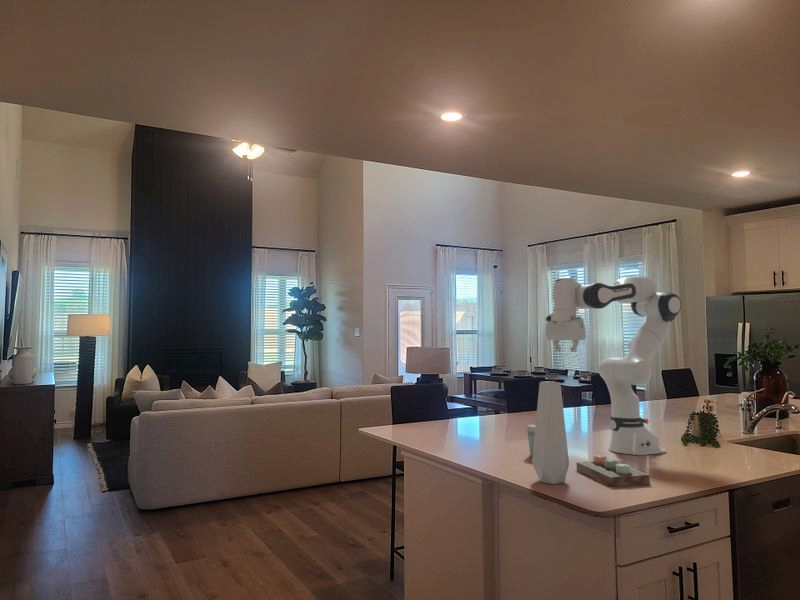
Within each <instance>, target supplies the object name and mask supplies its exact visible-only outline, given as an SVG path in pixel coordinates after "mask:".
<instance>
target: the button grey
mask: <svg viewBox="0 0 800 600" xmlns="http://www.w3.org/2000/svg"><path fill="white" fill-rule="evenodd" d="M618 463H619V461H618V460H616V459H608V458H607V459H606V460H604V468H605V469H607V470H616V464H618Z"/></svg>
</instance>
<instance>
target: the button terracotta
mask: <svg viewBox="0 0 800 600" xmlns="http://www.w3.org/2000/svg"><path fill="white" fill-rule="evenodd" d="M606 459H608V458H607V456H606V455H603V454H595V455H593V461H594V464H595V465H604V460H606Z"/></svg>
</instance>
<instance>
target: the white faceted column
mask: <svg viewBox="0 0 800 600" xmlns="http://www.w3.org/2000/svg"><path fill="white" fill-rule="evenodd" d="M537 396H538V397H537V406H536V407H537V408H536V417H535V424H536V426H535V436H534V447H533V456H531V457H532V460H531V461H532V462H531V463H532V464H531V465H532V467H533V469H534V470H535V474H536V475H537V478H538V479H539V481H540V483H544V484H549V485H559V484H563V483H565V480H566V479H567V473H568V469H569V465H570V460H569V458H570V457H569V449H568V440H567V432H566V423H565V411H564V404H563V393H562V385H561V382H558V381H540V382H539V387H538V395H537Z"/></svg>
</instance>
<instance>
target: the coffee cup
mask: <svg viewBox="0 0 800 600" xmlns="http://www.w3.org/2000/svg"><path fill="white" fill-rule="evenodd" d="M535 426H536V423H535V424H534V423H533V424H528V425H527V428H526V431H527V438H528V446H529V453H530V456H531V457H533V447H534V436H535Z"/></svg>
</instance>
